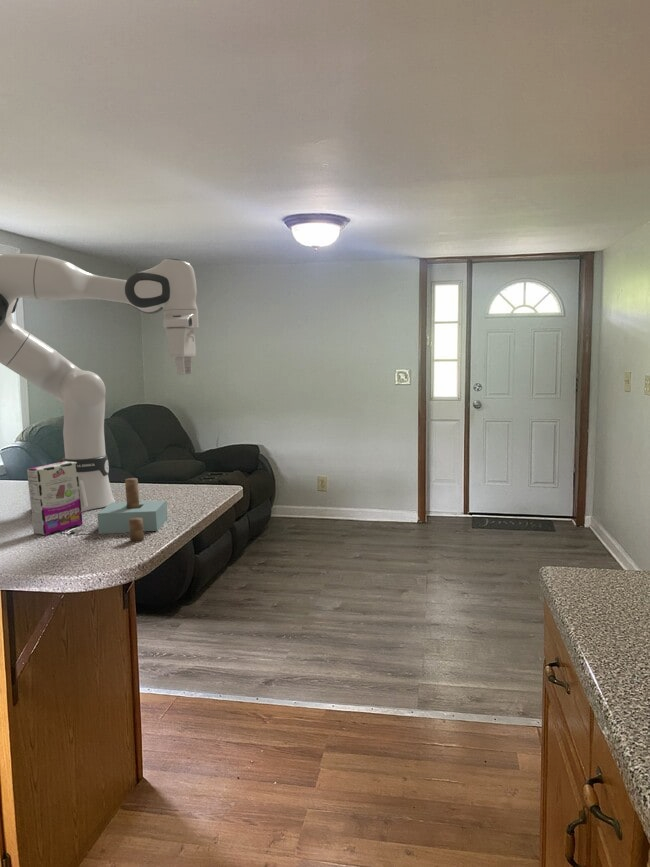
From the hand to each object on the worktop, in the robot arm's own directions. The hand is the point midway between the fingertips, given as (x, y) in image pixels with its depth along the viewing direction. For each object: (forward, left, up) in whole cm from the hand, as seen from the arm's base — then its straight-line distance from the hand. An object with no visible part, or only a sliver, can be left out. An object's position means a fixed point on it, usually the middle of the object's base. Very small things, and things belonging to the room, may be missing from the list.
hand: (184, 374), depth 175 cm
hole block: (-12, -15, -37) cm, 42 cm away
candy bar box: (-31, -15, -37) cm, 51 cm away
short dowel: (-8, -28, -37) cm, 47 cm away
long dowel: (-12, -15, -37) cm, 42 cm away
